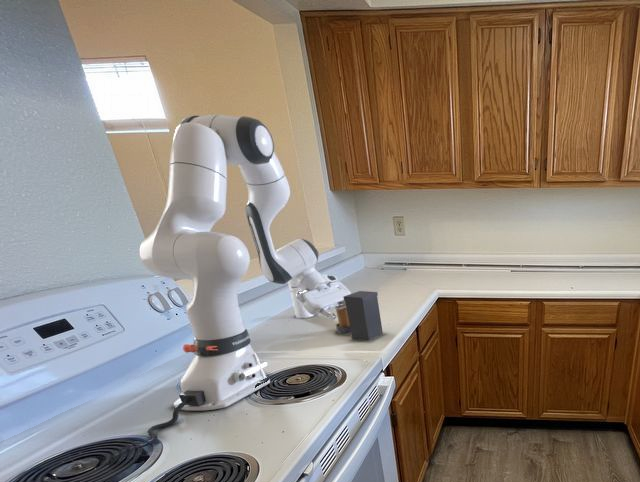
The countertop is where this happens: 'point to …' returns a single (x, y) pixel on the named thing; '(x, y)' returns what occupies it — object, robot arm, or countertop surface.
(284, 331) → the countertop surface
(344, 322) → the brown wooden cylinder
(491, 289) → the countertop surface
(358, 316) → the dark grey tall block
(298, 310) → the cylindrical container
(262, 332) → the countertop surface
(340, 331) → the brew holder
